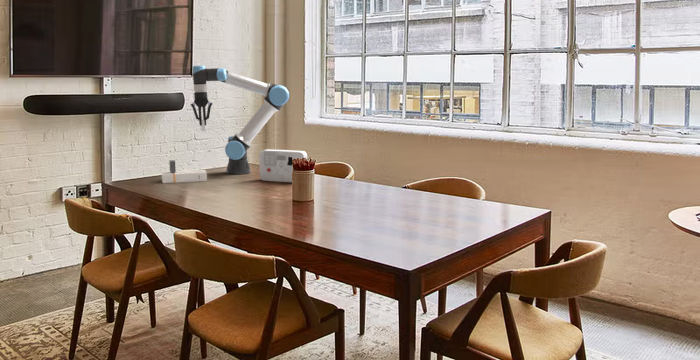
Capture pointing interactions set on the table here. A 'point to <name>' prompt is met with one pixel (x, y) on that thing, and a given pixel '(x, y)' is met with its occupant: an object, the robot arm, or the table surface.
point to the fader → (172, 166)
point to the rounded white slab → (278, 164)
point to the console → (184, 176)
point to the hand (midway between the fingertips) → (203, 130)
